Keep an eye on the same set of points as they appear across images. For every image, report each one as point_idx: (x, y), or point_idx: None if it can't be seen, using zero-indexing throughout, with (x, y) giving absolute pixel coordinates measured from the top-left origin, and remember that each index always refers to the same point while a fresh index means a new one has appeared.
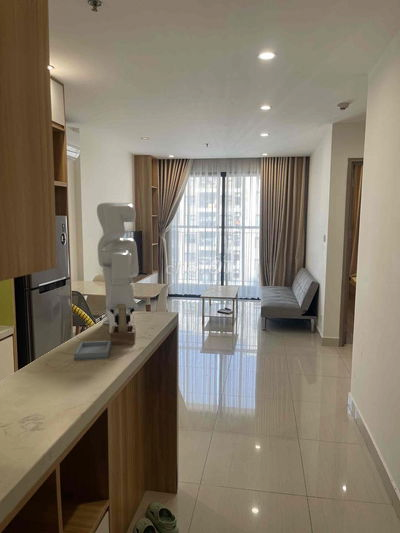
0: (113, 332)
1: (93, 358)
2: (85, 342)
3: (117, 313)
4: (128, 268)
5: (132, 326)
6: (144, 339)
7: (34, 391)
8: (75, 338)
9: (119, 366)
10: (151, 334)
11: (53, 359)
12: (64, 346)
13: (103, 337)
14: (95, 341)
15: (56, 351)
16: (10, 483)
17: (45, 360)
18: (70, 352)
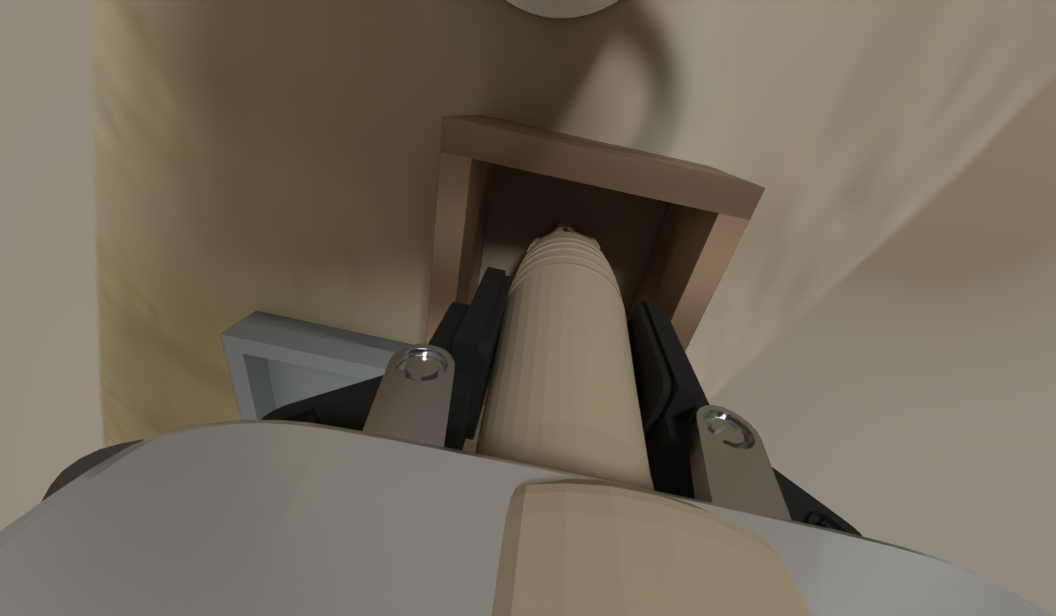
0: (461, 295)
1: None
2: (260, 356)
3: (461, 414)
4: None
5: (708, 210)
6: (739, 297)
7: None
8: (91, 5)
9: None
10: (888, 169)
11: (170, 423)
12: (115, 233)
13: (383, 85)
14: (330, 362)
15: (116, 316)
16: None
17: (136, 421)
18: (217, 362)
